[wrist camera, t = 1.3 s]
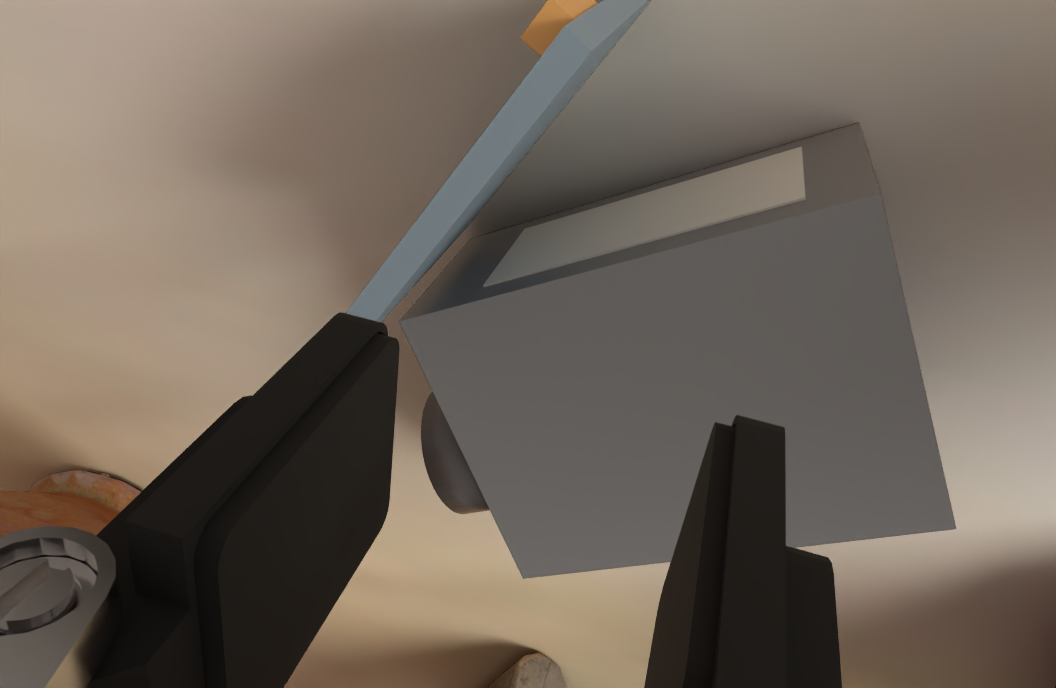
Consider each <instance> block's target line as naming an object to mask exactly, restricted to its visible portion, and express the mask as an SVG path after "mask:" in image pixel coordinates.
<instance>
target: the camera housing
mask: <svg viewBox="0 0 1056 688" xmlns="http://www.w3.org/2000/svg"><path fill="white" fill-rule="evenodd" d="M399 323H400V325H401V327H402V329H403V331H404V333H405V335H406V337H407V339H408V341H409V343H410V345H411V347H412V349H413V352H414V354H415V356H416V358H417V360H418V362H419V364H420V366H421V368H422V370H423V372H424V374H425V376H426V378H427V381H428V383H429V385H430V387H431V389H432V391H433V392H432V393H431V394H430V396H429V398H428V399H427V402H426V404H425V408H424V411H423V416H422V425H421V441H422V451H423V457H424V462H425V466H426V469H427V473H428V475H429V478H430V481H431V483H432V485H433V487H434V489H435V491H436V493H437V495H438V496H439V498H440V499H441V500H442V502H443V503H444V504H445V505H446V506H447V507H448V508H449V509H451V510H452V511H454V512H456V513H459V514H467V513H474V512H480V511H487V510H490V511H491V513H492V515H493V517H494V519H495V521H496V523H497V525H498V528H499V530H500V532H501V534H502V536H503V538H504V540H505V542H506V544H507V546H508V548H509V550H510V552H511V554H512V557H513V559H514V561H515V563H516V565H517V567H518V569H519V571H520V573H521V575H522V577H523V579H524V578H533V577H542V576H551V575H559V574H568V573H577V572H586V571H594V570H603V569H612V568H620V567H629V566H638V565H647V564H655V563H664V562H671V560H672V557H673V554H674V550H675V547H676V544H677V541H678V538H679V534H680V531H681V528H682V525H683V521H684V518H685V515H686V512H687V509H688V505H689V502H690V499H691V496H692V492H693V489H694V486H695V483H696V480H697V476H698V473H699V470H700V467H701V463H702V460H703V457H704V454H705V451H706V447H707V444H708V441H709V438H710V434H711V431H712V428H713V426H714V423H715V422H718V423H721V424H725V425H729V426H731V425H732V423H733V420H734V418H735V416H736V415H740V416H744V417H748V418H752V419H756V420H759V421H763V422H767V423H771V424H775V425H779V426H782V427H784V428H785V464H786V546H788V547H792V548H795V547H804V546H812V545H821V544H830V543H839V542H847V541H856V540H865V539H874V538H882V537H891V536H900V535H908V534H917V533H926V532H935V531H943V530H952V529H956V525H955V521H954V516H953V512H952V507H951V503H950V498H949V494H948V490H947V485H946V481H945V476H944V472H943V467H942V463H941V459H940V454H939V450H938V445H937V441H936V436H935V432H934V427H933V423H932V419H931V414H930V410H929V405H928V401H927V396H926V392H925V387H924V383H923V379H922V374H921V370H920V365H919V361H918V356H917V352H916V348H915V343H914V339H913V334H912V330H911V325H910V321H909V316H908V312H907V308H906V303H905V299H904V294H903V290H902V285H901V281H900V276H899V272H898V268H897V263H896V259H895V254H894V250H893V245H892V241H891V237H890V232H889V228H888V223H887V219H886V214H885V210H884V205H883V201H882V197H881V192H880V189H879V186H878V183H877V180H876V176H875V173H874V170H873V167H872V164H871V160H870V157H869V154H868V151H867V148H866V144H865V141H864V138H863V135H862V131H861V128H860V125H859V123H855V124H852V125H849V126H845V127H842V128H839V129H835V130H832V131H829V132H825V133H822V134H819V135H815V136H812V137H809V138H805V139H802V140H799V141H795V142H792V143H789V144H785V145H782V146H779V147H775V148H772V149H769V150H765V151H762V152H759V153H755V154H752V155H749V156H745V157H742V158H739V159H735V160H732V161H729V162H726V163H722V164H719V165H716V166H712V167H709V168H706V169H702V170H699V171H696V172H692V173H689V174H686V175H682V176H679V177H676V178H672V179H669V180H666V181H662V182H659V183H656V184H652V185H649V186H646V187H642V188H639V189H636V190H632V191H629V192H626V193H622V194H619V195H616V196H612V197H609V198H606V199H602V200H599V201H596V202H592V203H589V204H586V205H582V206H579V207H576V208H572V209H569V210H566V211H562V212H559V213H556V214H552V215H549V216H546V217H542V218H539V219H536V220H532V221H529V222H526V223H522V224H519V225H516V226H512V227H509V228H506V229H502V230H499V231H496V232H492V233H489V234H486V235H482V236H479V237H476V238H472V239H470V240H469V241H468V243H467V244H466V245H465V246H464V247H463V248H462V249H461V251H460V252H459V253H458V254H457V255H456V256H455V258H454V259H453V260H452V261H451V262H450V263H449V264H448V266H447V267H446V268H445V269H444V270H443V271H442V273H441V274H440V275H439V276H438V277H437V278H436V279H435V281H434V282H433V283H432V284H431V285H430V286H429V288H428V289H427V290H426V291H425V292H424V293H423V294H422V296H421V297H420V298H419V299H418V300H417V301H416V303H415V304H414V305H413V306H412V307H411V308H410V310H409V311H408V312H407V313H406V314H405V315H404V316H403V318H402V319H401V320H400V321H399Z"/></svg>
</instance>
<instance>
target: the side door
mask: <svg viewBox="0 0 1056 688" xmlns="http://www.w3.org/2000/svg"><path fill="white" fill-rule="evenodd" d="M650 1H651V0H602V1H601V2H600V3H597V2H596V1H595V0H547V2H546V3H545V5H544V6H543V7H542V9H541V10H540V11H539V13H538V14H537V15H536V17H535V18H534V20H533V21H532V22H531V24H530V25H529V26H528V28H527V29H526V30H525V32H524V33H523V34H522V36H521V37H520V38H521V39H522V40H523V41H524V42H525V43H526V44H527V45H528V46H530V47H531V48H532V49H533V50H534V51H535V52H536V53H537V54H538V55H540V56H541V58H540V59H539V60H538V61H537V63H536V64H535V65H534V67H533V68H532V69H531V71H530V72H529V73H528V75H527V76H526V77H525V79H524V80H523V81H522V82H521V84H520V85H519V86H518V88H517V89H516V90H515V92H514V93H513V94H512V96H511V97H510V98H509V100H508V101H507V102H506V103H505V105H504V106H503V107H502V109H501V110H500V111H499V113H498V114H497V115H496V117H495V118H494V119H493V121H492V122H491V123H490V124H489V126H488V127H487V128H486V130H485V131H484V132H483V134H482V135H481V136H480V138H479V139H478V140H477V141H476V143H475V144H474V145H473V147H472V148H471V149H470V151H469V152H468V153H467V155H466V156H465V157H464V159H463V160H462V161H461V162H460V164H459V165H458V166H457V168H456V169H455V170H454V172H453V173H452V174H451V176H450V177H449V178H448V180H447V181H446V182H445V183H444V185H443V186H442V187H441V189H440V190H439V191H438V193H437V194H436V195H435V197H434V198H433V199H432V201H431V202H430V203H429V204H428V206H427V207H426V208H425V210H424V211H423V212H422V214H421V215H420V216H419V218H418V219H417V220H416V222H415V223H414V224H413V225H412V227H411V228H410V229H409V231H408V232H407V233H406V235H405V236H404V237H403V239H402V240H401V241H400V242H399V244H398V245H397V246H396V248H395V249H394V250H393V252H392V253H391V254H390V256H389V257H388V258H387V260H386V261H385V262H384V263H383V265H382V266H381V267H380V269H379V270H378V271H377V273H376V274H375V275H374V277H373V278H372V279H371V281H370V282H369V283H368V284H367V286H366V287H365V288H364V290H363V291H362V292H361V294H360V295H359V296H358V298H357V299H356V300H355V302H354V303H353V304H352V305H351V307H350V308H349V309H348V311H347V312H346V313H347V314H351V315H354V316H358V317H362V318H366V319H370V320H374V321H378V322H382V321H383V319H384V318H385V317H386V316H387V315H388V314H389V313H390V312H391V311H392V309H393V308H394V307H395V306H396V305H397V304H398V303H399V302H400V301H401V300H402V298H403V297H404V296H405V295H406V294H407V293H408V292H409V291H410V290H411V288H412V287H413V286H414V285H415V284H416V283H417V282H418V281H419V280H420V279H421V277H422V276H423V275H424V274H425V273H426V272H427V271H428V270H429V269H430V268H431V266H432V265H433V264H434V263H435V262H436V261H437V260H438V259H439V258H440V256H441V255H442V254H443V253H444V252H445V251H446V250H447V249H448V248H449V247H450V245H451V244H452V243H453V242H454V241H455V240H456V239H457V238H458V237H459V235H460V234H461V233H462V232H463V231H464V230H465V229H466V228H467V226H468V225H469V224H470V223H471V221H472V220H473V219H474V218H475V216H476V215H477V214H478V213H479V212H480V210H481V209H482V208H483V207H484V205H485V204H486V203H487V202H488V200H489V199H490V198H491V197H492V196H493V194H494V193H495V192H496V191H497V189H498V188H499V187H500V186H501V184H502V183H503V182H504V181H505V180H506V178H507V177H508V176H509V175H510V173H511V172H512V171H513V170H514V168H515V167H516V166H517V165H518V164H519V162H520V161H521V160H522V159H523V157H524V156H525V155H526V154H527V152H528V151H529V150H530V149H531V148H532V146H533V145H534V144H535V143H536V141H537V140H538V139H539V138H540V136H541V135H542V134H543V133H544V132H545V130H546V129H547V128H548V127H549V125H550V124H551V123H552V122H553V121H554V119H555V118H556V117H557V116H558V114H559V113H560V112H561V111H562V109H563V108H564V107H565V106H566V105H567V103H568V102H569V101H570V100H571V98H572V97H573V96H574V95H575V93H576V92H577V91H578V90H579V89H580V87H581V86H582V85H583V84H584V82H585V81H586V80H587V79H588V77H589V76H590V75H591V74H592V73H593V71H594V70H595V69H596V68H597V66H598V65H599V64H600V63H601V61H602V60H603V59H604V58H605V57H606V55H607V54H608V53H609V52H610V50H611V49H612V48H613V47H614V45H615V44H616V43H617V42H618V41H619V39H620V38H621V37H622V36H623V34H624V33H625V32H626V31H627V29H628V28H629V27H630V26H631V25H632V23H633V22H634V21H635V20H636V18H637V17H638V16H639V15H640V13H641V12H642V11H643V10H644V9H645V7H646V6H647V5H648V4H649V2H650Z"/></svg>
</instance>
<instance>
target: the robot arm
mask: <svg viewBox="0 0 1056 688" xmlns="http://www.w3.org/2000/svg"><path fill="white" fill-rule="evenodd" d="M398 362H399V342H398V340H397V339H396V338H393V337H389V336H388V332H387V328H386V325H385V324H384V323H381V322H378V321H374V320H370V319H366V318H362V317H358V316H354V315H351V314H347V313H338V314H337V315H335V316H334V317H333V318H332V319H331V320H330V321H329V322H328V323H327V324H326V325H325V326H324V327H323V328H322V329H321V330H320V331H319V332H318V333H317V334H316V335H315V336H314V337H312V338H311V339H310V340H309V341H308V342H307V343H306V344H305V345H304V346H303V347H302V348H301V349H300V350H299V351H298V352H297V353H296V354H295V355H294V356H293V357H292V358H291V359H290V360H289V361H288V362H287V363H286V364H285V365H284V366H283V367H282V368H281V369H280V370H279V371H278V372H277V373H276V374H275V375H274V376H273V377H271V378H270V379H269V380H268V381H267V382H266V383H265V384H264V385H263V386H262V387H261V388H260V389H259V390H258V391H257V392H256V393H255V394H254V395H253V396H246V397H242V398H241V399H240V400H238V401H237V402H235V403H234V404H233V405H232V406H231V407H230V408H229V409H228V410H227V411H226V412H225V413H223V414H222V415H221V416H220V417H219V418H218V419H217V420H216V421H215V422H214V423H213V424H212V425H211V426H210V427H209V428H208V429H207V430H206V431H205V432H204V433H203V434H202V435H200V436H199V437H198V438H197V439H196V440H195V441H194V442H193V443H192V444H191V445H190V446H189V447H188V448H187V449H186V450H185V451H184V452H183V453H182V454H181V455H180V456H179V457H177V458H176V459H175V460H174V461H173V462H172V463H171V464H170V465H169V466H168V467H167V468H166V469H165V470H164V471H163V472H162V473H161V474H160V475H159V476H158V477H157V478H156V479H154V480H153V481H152V482H151V483H150V484H149V485H148V486H147V487H146V488H145V489H144V490H143V491H142V492H141V493H140V494H139V495H138V496H137V497H136V498H135V499H134V500H133V501H131V502H130V503H129V504H128V505H127V506H126V507H125V508H124V509H123V510H122V511H121V512H120V513H119V514H118V515H117V516H116V517H115V518H114V519H113V520H112V521H111V522H110V523H108V524H107V525H106V526H105V527H104V528H103V529H102V530H101V531H100V532H99V533H98V534H97V535H96V536H95V535H94V534H93V533H90V532H86V531H83V530H80V529H76V528H73V527H59V526H43V527H36V528H29V529H23V530H18V531H15V532H12V533H9V534H6V535H3V536H0V688H283V687H284V686H285V684H286V683H287V681H288V679H289V678H290V676H291V675H292V673H293V671H294V670H295V668H296V666H297V665H298V663H299V662H300V660H301V658H302V657H303V655H304V653H305V652H306V650H307V649H308V647H309V645H310V644H311V642H312V640H313V639H314V637H315V636H316V634H317V632H318V631H319V629H320V628H321V626H322V624H323V623H324V621H325V619H326V618H327V616H328V615H329V613H330V611H331V610H332V608H333V606H334V605H335V603H336V602H337V600H338V598H339V597H340V595H341V594H342V592H343V590H344V589H345V587H346V585H347V584H348V582H349V581H350V579H351V577H352V576H353V574H354V572H355V571H356V569H357V568H358V566H359V564H360V563H361V561H362V559H363V558H364V556H365V555H366V553H367V551H368V550H369V548H370V547H371V545H372V543H373V542H374V540H375V538H376V537H377V535H378V534H379V532H380V530H381V528H382V526H383V524H384V521H385V518H386V515H387V512H388V507H389V499H390V484H391V469H392V454H393V438H394V423H395V408H396V393H397V378H398ZM644 688H842V682H841V669H840V655H839V641H838V627H837V614H836V600H835V586H834V573H833V568H832V563H831V561H830V560H829V558H828V557H824V556H820V555H817V554H813V553H810V552H806V551H803V550H799V549H796V548H792V547H788V546H786V464H785V428H784V427H782V426H779V425H775V424H771V423H767V422H763V421H759V420H756V419H752V418H748V417H744V416H740V415H736V416H735V418H734V420H733V423H732V425H731V426H729V425H725V424H721V423H718V422H715V423H714V426H713V428H712V431H711V434H710V438H709V441H708V444H707V447H706V451H705V454H704V457H703V460H702V463H701V467H700V470H699V473H698V476H697V480H696V483H695V486H694V489H693V492H692V496H691V499H690V502H689V505H688V509H687V512H686V515H685V518H684V521H683V525H682V528H681V531H680V534H679V538H678V541H677V544H676V547H675V550H674V554H673V557H672V560H671V563H670V567H669V570H668V573H667V576H666V579H665V583H664V586H663V590H662V594H661V598H660V602H659V606H658V611H657V617H656V622H655V628H654V634H653V640H652V646H651V652H650V658H649V663H648V669H647V675H646V681H645V687H644Z"/></svg>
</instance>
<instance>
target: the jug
mask: <svg viewBox="0 0 1056 688" xmlns="http://www.w3.org/2000/svg"><path fill="white" fill-rule="evenodd" d="M106 475H107V477H106ZM109 476H110V475H108V474H104V473H100V474H94V473H91V472H87V471H83V470H74V471H67V472H60V473H54V474H48V475H47V476H45V477H43V478H42V479H40V480H39V481H37V482H35V483H34V484H33V485H32V487H31V489H30V490H29V492H6V491H0V536H3V535H6V534H9V533H12V532H15V531H18V530H23V529H29V528H36V527H43V526H59V527H73V528H76V529H80V530H83V531H86V532H90V533H93V534H94V535H95V536H96V535H97V534H98V533H99V532H100V531H101V530H102V529H103V528H104V527H105V526H106V525H107V524H108V523H110V522H111V521H112V520H113V519H114V518H115V517H116V516H117V515H118V514H119V513H120V512H121V511H122V510H123V509H124V508H125V507H126V506H127V505H128V504H129V503H130V502H131V501H133V500H134V499H135V498H136V497H137V496H138V495H139V494H140V493H141V492H140V491H139V490H137V489H135V488H133V487H132V486H130V485H128V484H126V483H125V482H123V481H119V480H116V479H113V478H109Z"/></svg>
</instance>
